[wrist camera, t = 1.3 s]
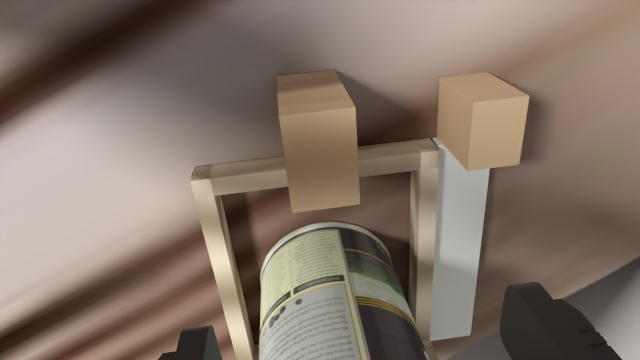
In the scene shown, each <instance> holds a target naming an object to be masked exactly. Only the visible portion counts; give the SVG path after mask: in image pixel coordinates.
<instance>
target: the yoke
mask: <svg viewBox="0 0 640 360" xmlns="http://www.w3.org/2000/svg"><path fill="white" fill-rule="evenodd" d="M276 79H277V96H278V113H279V122H280V129H281V137H282V144H283V151H284V156H278V157H270V158H262V159H253V160H245V161H237V162H229V163H221V164H212V165H204V166H196V167H195V168H194V171H193V174H192V176H191V179H190V184H191V188H192V191H193V195H194V199H195V203H196V207H197V210H198V214H199V218H200V222H201V226H202V229H203V233H204V237H205V241H206V245H207V249H208V252H209V256H210V260H211V264H212V268H213V271H214V275H215V279H216V283H217V287H218V290H219V294H220V298H221V302H222V306H223V309H224V313H225V317H226V321H227V325H228V328H229V332H230V336H231V340H232V344H233V347H234V351H235V355H236V359H237V360H259V344H257V345H255V344H254V339H253V335H252V331H251V326H250V322H249V318H248V313H247V309H246V304H245V300H244V296H243V291H242V287H241V282H240V278H239V274H238V269H237V265H236V260H235V256H234V252H233V247H232V243H231V239H230V234H229V230H228V225H227V221H226V217H225V212H224V208H223V203H222V199H221V195H225V194H233V193H241V192H249V191H257V190H265V189H273V188H281V187H289V194H290V202H291V209H292V213H298V212H305V211H313V210H321V209H329V208H336V207H344V206H352V205H359V204H360V189H359V178H360V177H368V176H376V175H384V174H392V173H400V172H408V171H411V194H410V250H409V305H408V307H409V309H410V312H411V314H412V317H413V319H414V322H415V324H416V327H417V329H418V332H419V334H420V337H421V339H422V341H423V344H424V347H425V349H426V352H427V354H428V356H429V359H430V360H438V358H437V356H436V353H435V351H434V348H433V346H432V343H431V341H430V327H431V308H432V289H433V270H434V251H435V232H436V213H437V194H438V175H439V157H440V150H439V149H438V148H437V146H436V145H435V144H434V143H433V142H432V141H431V139H430V138H425V139H417V140H409V141H401V142H393V143H384V144H376V145H368V146H360V147H357V126H356V107H355V105H354V103H353V102H352V100H351V98H350V96H349V94H348V92H347V91H346V89H345V87H344V85H343V83H342V82H341V80H340V78H339V76H338V74H337V73H336V71H335V70H326V71H318V72H309V73H300V74H291V75H282V76H276Z"/></svg>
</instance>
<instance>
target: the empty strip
mask: <svg viewBox="0 0 640 360" xmlns="http://www.w3.org/2000/svg"><path fill="white" fill-rule="evenodd" d="M529 97H530V96H529V95H527V94H526V93H524V92H522V91H520V90H518V89H517V88H515V87H513V86H511V85H509V84H508V83H506V82H504V81H502V80H500V79H499V78H497V77H495V76H493V75H491V74H490V73H488V72H482V73H473V74H464V75H455V76H447V77H440V78H439V99H438V120H437V137H434V138H432V142H433V143H434V144H435V145H436V146H437V148H438V149H439V150H440V157H439V175H438V194H437V213H436V232H435V251H434V270H433V289H432V308H431V327H430V341H435V340H442V339H449V338H455V337H462V336H469V335H470V334H471V326H472V317H473V308H474V300H475V291H476V283H477V274H478V266H479V257H480V248H481V240H482V231H483V223H484V214H485V206H486V197H487V188H488V180H489V171H490V168H496V167H504V166H512V165H519V162H520V156H521V149H522V143H523V136H524V130H525V123H526V116H527V110H528V103H529Z"/></svg>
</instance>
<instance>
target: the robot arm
mask: <svg viewBox="0 0 640 360" xmlns="http://www.w3.org/2000/svg"><path fill="white" fill-rule="evenodd" d="M500 333H501V338H502V341H503V344H504V346H505V348H506V350H507V352H508V353H509V355H510V357H511V358H512V360H622V359H621V358H620V357H619V356H618V355H617V353H616V352H615V351H614V350H613V349H612V348H611V346H608V345H607V342H606V341H605V339H604V338H603V337H602V336H601V335H600V334H599V332H596V331H595V328H594V327H593V325H592V324H591V323H590V322H589V321H588V320H587V318H586V317H585V316H584V315H583V314H582V313H581V312H580V311H579V310H577V309H576V308H574V307H573V306H571V305H569V304H568V303H567V302H565V301H564V300H562V299H556V300H553V299H552V298H551V296H550V295H549V294H548V293H547V291H546V290H545V289H544V288H543V287H542V286H541V285H540V284H539V283H537V282H532V283H524V284H517V285H510V286H508V287H507V288H506V291H505V297H504V303H503V309H502V315H501V321H500ZM158 360H222V357H221V354H220V350H219V346H218V343H217V339H216V336H215V332H214V329H213V327H212V326H204V327H196V328H189V329H183V330H182V331H181V334H180V338H179V342H178V346H177V350H176V352H169V353H163V354H162V355H161V356H160V358H159V359H158Z"/></svg>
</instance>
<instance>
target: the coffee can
mask: <svg viewBox="0 0 640 360" xmlns="http://www.w3.org/2000/svg"><path fill="white" fill-rule="evenodd" d="M260 284H261V309H260V341H259V360H430V359H429V356H428V354H427V352H426V349H425V347H424V344H423V341H422V339H421V337H420V334H419V332H418V329H417V327H416V324H415V322H414V319H413V317H412V314H411V312H410V309H409V307H408V304H407V301H406V299H405V296H404V294H403V291H402V288H401V286H400V283H399V281H398V278H397V276H396V273H395V271H394V268H393V265H392V262H391V257H390V255H389V252H388V250H387V249H386V247H385V245H384V244H383V243H382V241H381V240H380V239H379V238H378V237H376V236H375V235H374V234H372V233H371V232H369V231H368V230H366V229H364V228H362V227H359V226H357V225H353V224H350V223H344V222H333V221H329V222H320V223H315V224H310V225H307V226H304V227H302V228H299V229H297V230H295V231H293V232H291V233H289V234H288V235H286V236H284V237H283V238H282V239H281V240H279V241H278V242H277V244H276V245H275V246H274V247H273V248H272V249H271V250H270V251H269V253H268V255H267V256H266V258H265V260H264V263H263V266H262V269H261V275H260Z"/></svg>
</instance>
